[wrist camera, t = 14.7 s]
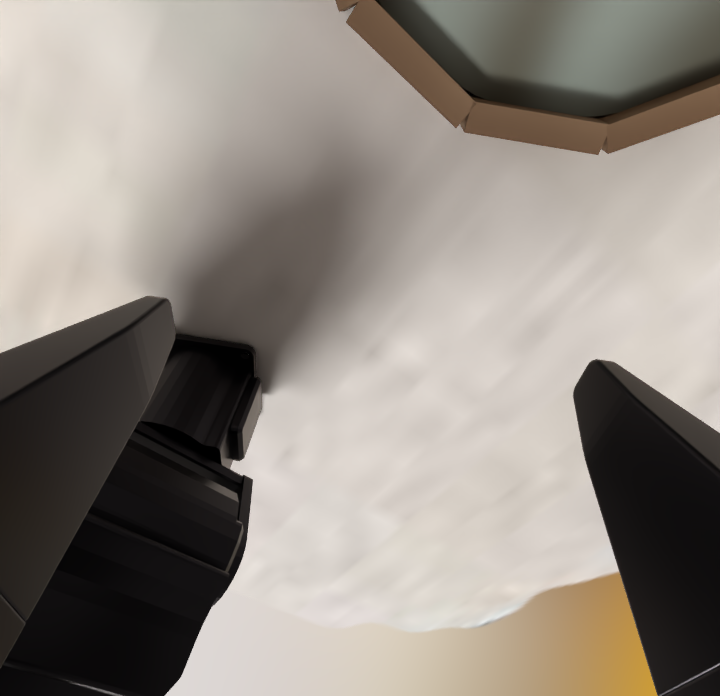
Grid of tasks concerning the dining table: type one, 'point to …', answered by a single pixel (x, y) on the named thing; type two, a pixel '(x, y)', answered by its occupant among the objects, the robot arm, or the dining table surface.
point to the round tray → (554, 65)
